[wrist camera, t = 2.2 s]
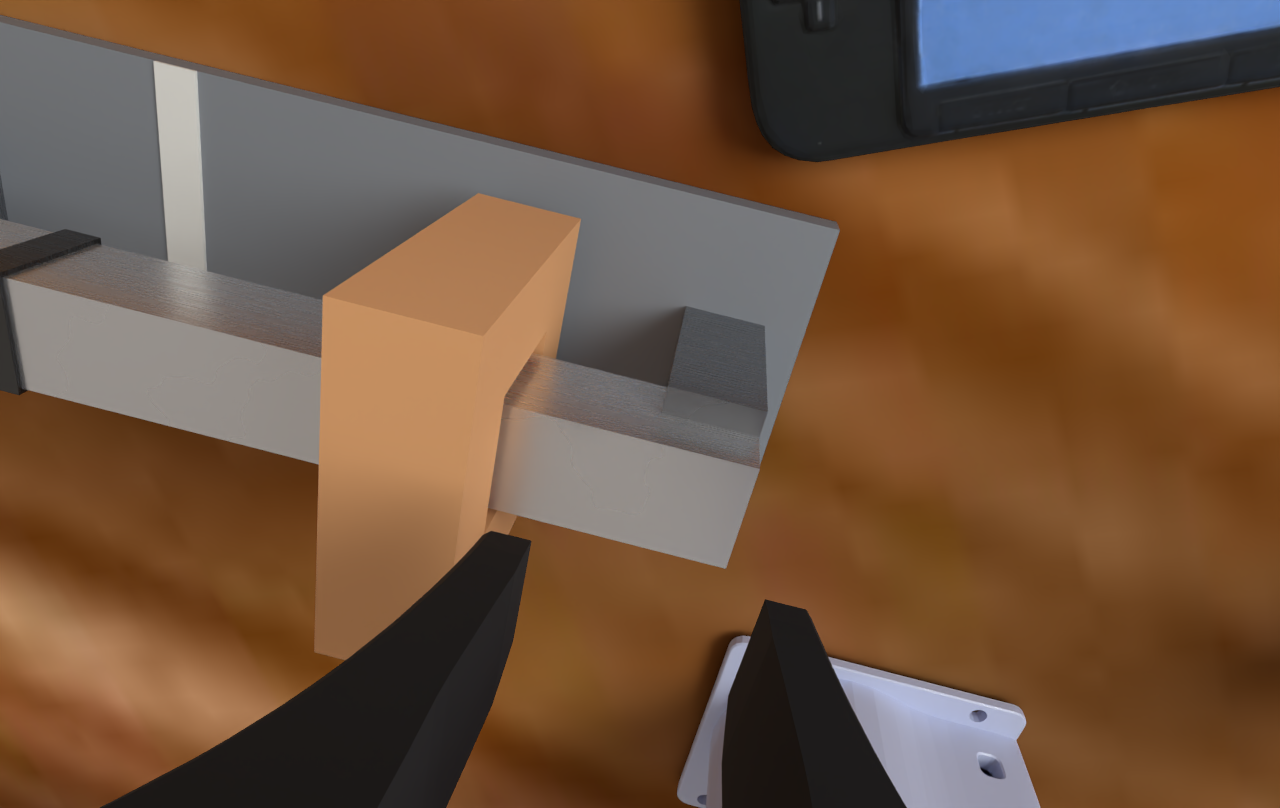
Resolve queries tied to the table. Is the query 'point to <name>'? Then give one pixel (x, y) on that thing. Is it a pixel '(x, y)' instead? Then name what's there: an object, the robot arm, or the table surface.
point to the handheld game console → (988, 65)
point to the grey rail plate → (291, 386)
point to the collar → (425, 403)
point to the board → (376, 198)
